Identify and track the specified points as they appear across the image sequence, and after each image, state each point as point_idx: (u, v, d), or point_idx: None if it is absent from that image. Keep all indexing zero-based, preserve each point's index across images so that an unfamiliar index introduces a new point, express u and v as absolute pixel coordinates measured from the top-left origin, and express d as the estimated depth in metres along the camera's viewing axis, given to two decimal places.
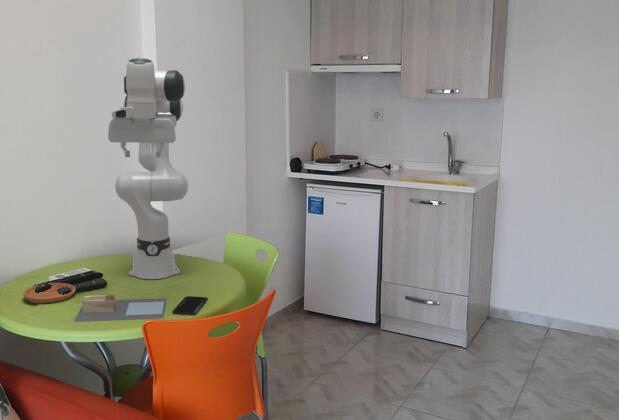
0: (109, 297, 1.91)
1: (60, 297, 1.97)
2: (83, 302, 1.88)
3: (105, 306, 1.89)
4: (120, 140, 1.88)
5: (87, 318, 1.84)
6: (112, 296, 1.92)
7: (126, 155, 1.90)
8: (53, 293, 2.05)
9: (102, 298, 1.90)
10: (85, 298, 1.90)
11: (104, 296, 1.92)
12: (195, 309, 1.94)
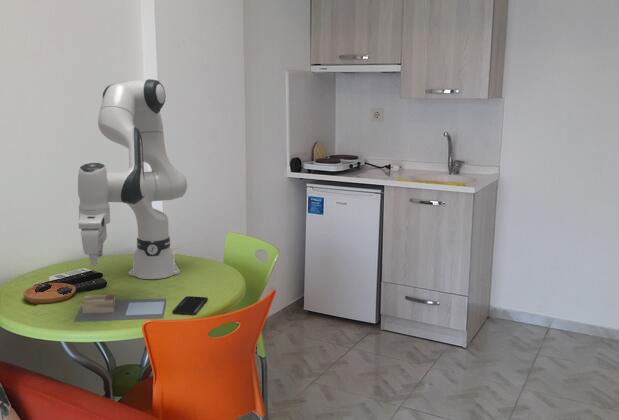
0: (109, 297, 1.91)
1: (60, 297, 1.97)
2: (83, 302, 1.88)
3: (105, 306, 1.89)
4: (98, 249, 1.81)
5: (87, 318, 1.84)
6: (112, 296, 1.92)
7: None
8: (53, 293, 2.05)
9: (102, 298, 1.90)
10: (85, 298, 1.90)
11: (104, 296, 1.92)
12: (195, 309, 1.94)
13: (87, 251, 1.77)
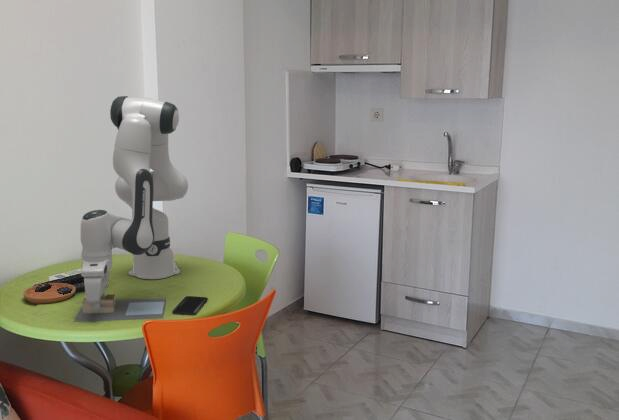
0: (109, 297, 1.91)
1: (60, 297, 1.97)
2: (83, 302, 1.88)
3: (105, 306, 1.89)
4: None
5: (87, 318, 1.84)
6: (112, 296, 1.92)
7: None
8: (53, 293, 2.05)
9: (102, 298, 1.90)
10: (85, 298, 1.90)
11: (104, 296, 1.92)
12: (195, 309, 1.94)
13: (90, 298, 1.80)
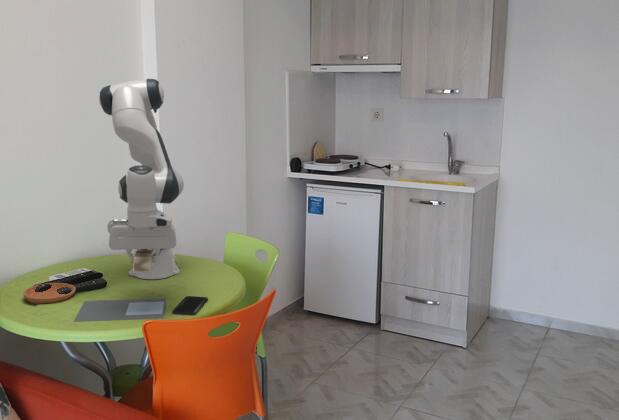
0: (145, 251, 1.93)
1: (60, 297, 1.97)
2: (150, 259, 1.87)
3: None
4: None
5: (87, 318, 1.84)
6: (143, 250, 1.94)
7: None
8: (53, 293, 2.05)
9: (146, 253, 1.92)
10: (142, 258, 1.86)
11: (139, 253, 1.92)
12: (195, 309, 1.94)
13: None
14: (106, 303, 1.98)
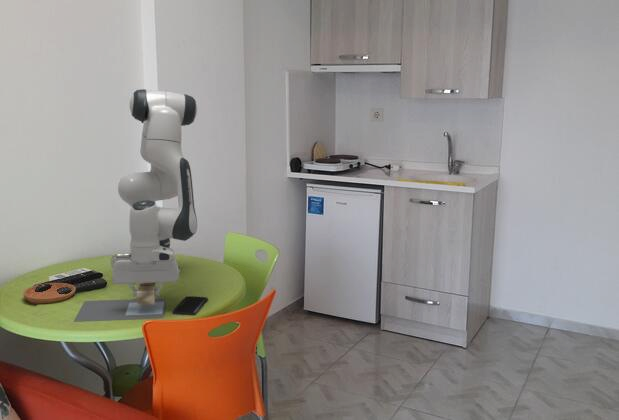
0: (148, 284, 1.95)
1: (60, 297, 1.97)
2: (153, 293, 1.89)
3: None
4: None
5: (87, 318, 1.84)
6: (145, 283, 1.96)
7: None
8: (53, 293, 2.05)
9: (149, 286, 1.94)
10: (145, 291, 1.89)
11: (142, 286, 1.94)
12: (195, 309, 1.94)
13: (178, 277, 1.93)
14: (106, 303, 1.98)
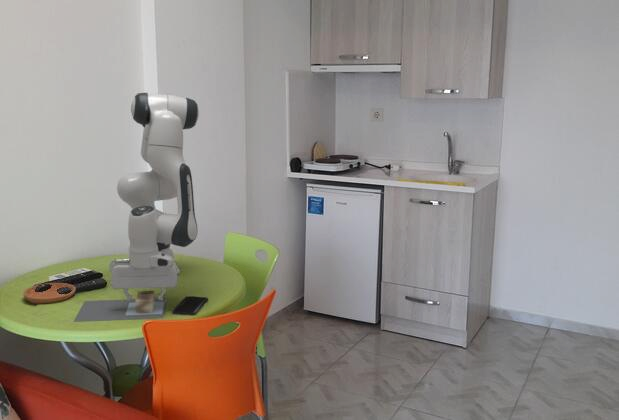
0: (147, 292, 1.96)
1: (60, 297, 1.97)
2: (152, 301, 1.90)
3: None
4: None
5: (87, 318, 1.84)
6: (144, 291, 1.97)
7: None
8: (53, 293, 2.05)
9: (148, 294, 1.94)
10: (144, 300, 1.89)
11: (141, 294, 1.94)
12: (195, 309, 1.94)
13: None
14: (106, 303, 1.98)
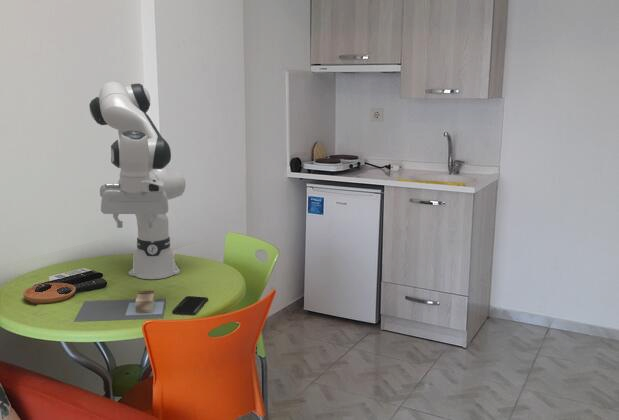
0: (147, 292, 1.96)
1: (61, 297, 1.97)
2: (152, 301, 1.90)
3: None
4: None
5: (87, 318, 1.84)
6: (144, 291, 1.97)
7: None
8: (53, 293, 2.05)
9: (148, 294, 1.94)
10: (144, 300, 1.89)
11: (141, 294, 1.94)
12: (195, 309, 1.94)
13: None
14: (106, 303, 1.98)
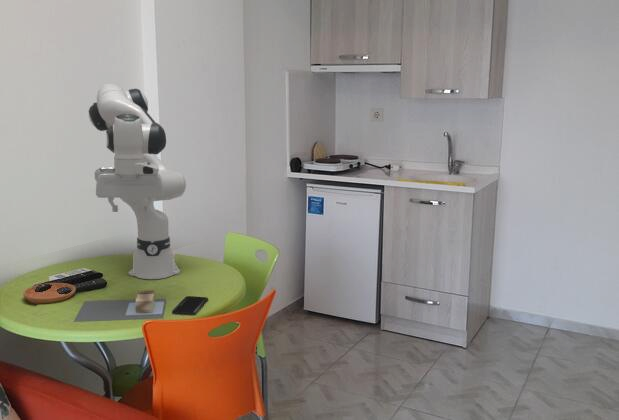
0: (147, 292, 1.96)
1: (61, 297, 1.97)
2: (152, 301, 1.90)
3: None
4: None
5: (87, 318, 1.84)
6: (144, 291, 1.97)
7: None
8: (53, 293, 2.05)
9: (148, 294, 1.94)
10: (144, 300, 1.89)
11: (141, 294, 1.94)
12: (195, 309, 1.94)
13: (163, 193, 1.92)
14: (106, 303, 1.98)
